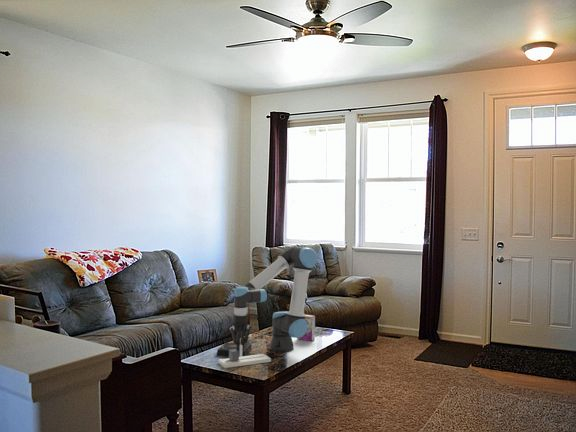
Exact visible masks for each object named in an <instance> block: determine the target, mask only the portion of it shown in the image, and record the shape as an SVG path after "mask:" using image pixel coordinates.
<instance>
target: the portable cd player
mask: <svg viewBox="0 0 576 432" xmlns="http://www.w3.org/2000/svg"><path fill="white" fill-rule="evenodd" d="M232 349H236V350H237V345H236V344H234V343H233V342H225V343H223V345H221V346H220V347H219V348H218V349H217V352H216V356H217V357H218V356H220V357H229V350H232ZM251 351H252V343H245V345H244V350H242V356H248V354H249V353H250V352H251Z"/></svg>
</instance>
